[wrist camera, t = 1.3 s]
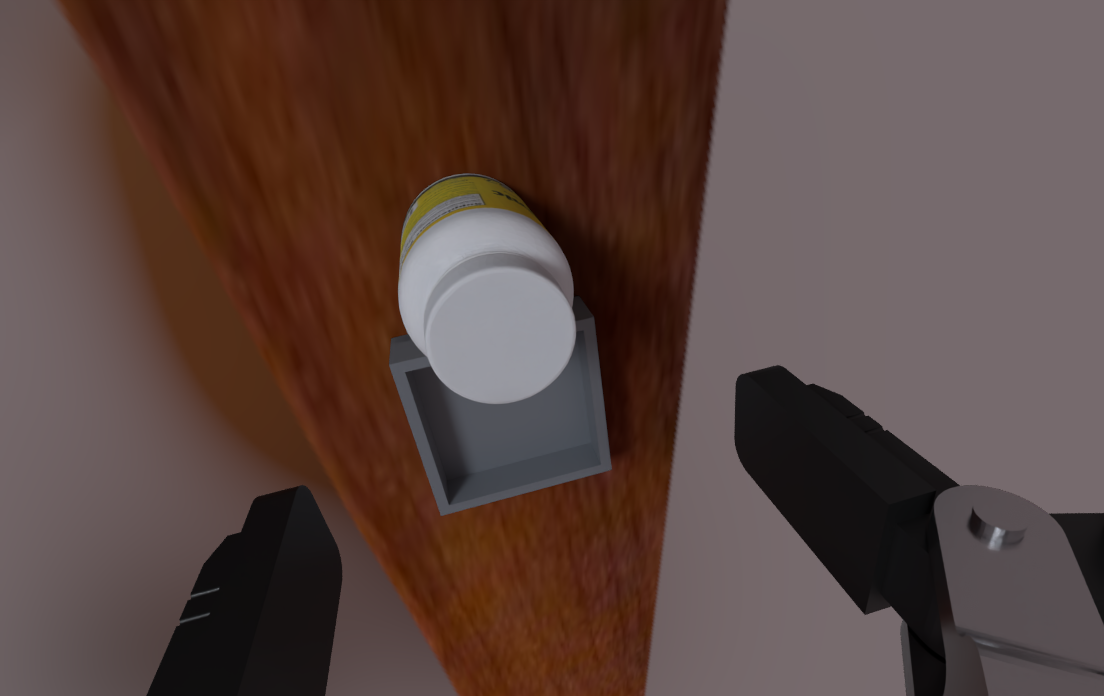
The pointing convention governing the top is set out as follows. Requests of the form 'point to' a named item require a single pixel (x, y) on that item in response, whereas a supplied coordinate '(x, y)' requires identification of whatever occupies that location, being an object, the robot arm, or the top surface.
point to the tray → (505, 427)
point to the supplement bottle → (485, 290)
